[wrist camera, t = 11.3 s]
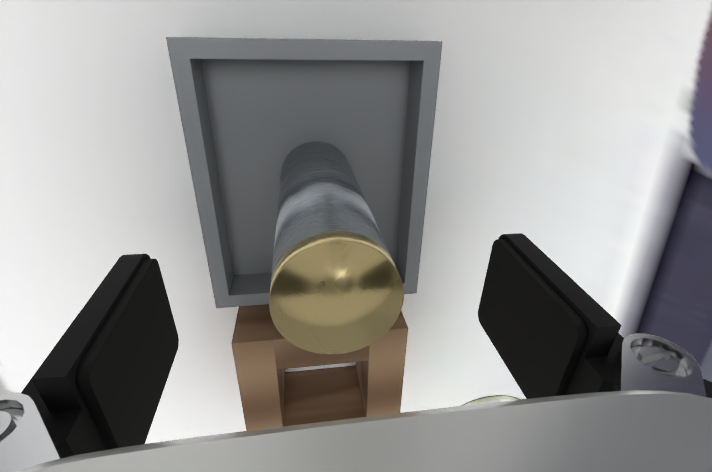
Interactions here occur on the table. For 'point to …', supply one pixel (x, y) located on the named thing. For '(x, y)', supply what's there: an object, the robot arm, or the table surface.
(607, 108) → the table surface
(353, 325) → the steel pin
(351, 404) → the block
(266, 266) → the tray
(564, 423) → the robot arm
